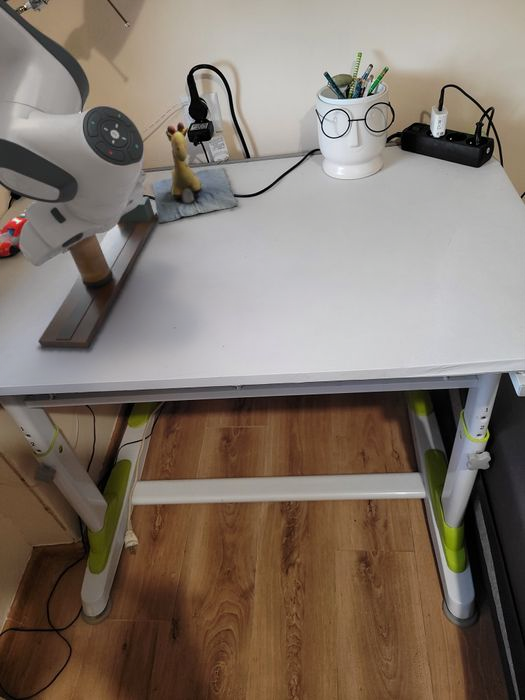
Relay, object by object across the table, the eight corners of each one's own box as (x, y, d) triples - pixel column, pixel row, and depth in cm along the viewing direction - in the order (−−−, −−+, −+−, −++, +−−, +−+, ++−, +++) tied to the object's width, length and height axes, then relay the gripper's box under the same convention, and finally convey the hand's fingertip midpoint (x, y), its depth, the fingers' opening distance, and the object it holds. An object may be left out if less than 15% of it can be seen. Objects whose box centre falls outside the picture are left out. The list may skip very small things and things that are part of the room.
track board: (88, 348, 78) (85, 342, 77) (41, 346, 79) (37, 340, 78) (158, 217, 103) (156, 211, 102) (121, 218, 104) (119, 212, 103)
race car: (7, 261, 98) (-3, 244, 95) (-12, 256, 100) (-23, 239, 97) (54, 225, 106) (46, 208, 103) (35, 221, 108) (27, 204, 105)
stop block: (151, 227, 101) (144, 204, 97) (118, 227, 102) (110, 205, 98) (155, 218, 103) (148, 196, 99) (123, 219, 104) (115, 197, 100)
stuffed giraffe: (159, 223, 101) (138, 142, 90) (153, 185, 114) (134, 111, 103) (237, 208, 102) (227, 127, 92) (222, 172, 116) (212, 98, 105)
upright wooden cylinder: (85, 291, 86) (48, 212, 75) (80, 275, 89) (45, 197, 78) (115, 281, 87) (83, 202, 76) (109, 265, 90) (78, 187, 79)
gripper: (134, 150, 75) (115, 194, 87) (13, 214, 65) (10, 254, 77) (162, 184, 76) (139, 223, 88) (46, 254, 66) (38, 287, 78)
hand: (78, 238), depth 83 cm, fingers closed on upright wooden cylinder, 5 cm apart
